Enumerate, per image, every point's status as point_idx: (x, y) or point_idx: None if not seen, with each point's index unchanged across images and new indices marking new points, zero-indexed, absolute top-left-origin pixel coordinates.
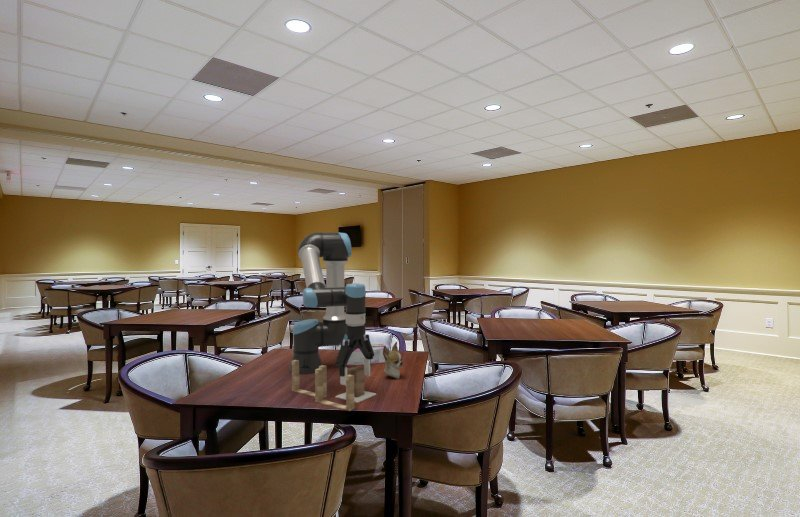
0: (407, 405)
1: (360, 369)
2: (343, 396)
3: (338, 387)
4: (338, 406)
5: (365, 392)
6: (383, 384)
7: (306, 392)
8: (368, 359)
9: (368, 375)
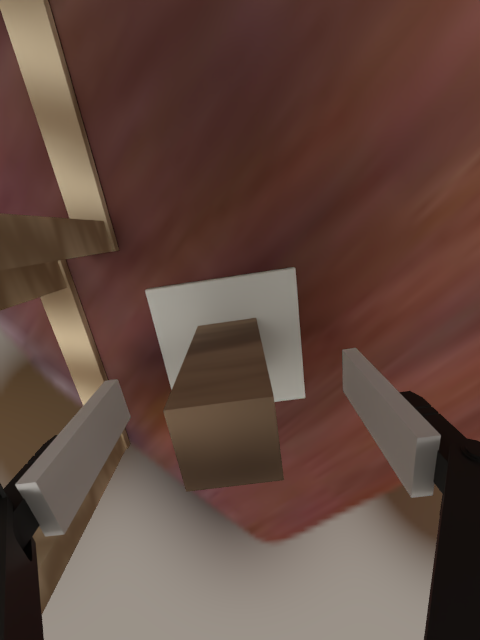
0: (288, 523)
1: (236, 483)
2: (173, 322)
3: (270, 149)
4: (84, 399)
5: (285, 354)
6: (457, 310)
7: (40, 89)
8: (421, 486)
9: (344, 390)
